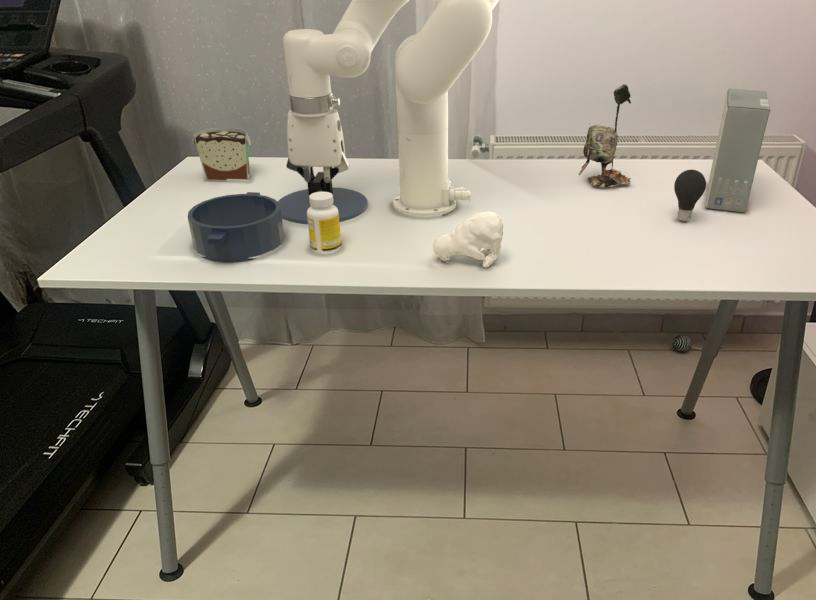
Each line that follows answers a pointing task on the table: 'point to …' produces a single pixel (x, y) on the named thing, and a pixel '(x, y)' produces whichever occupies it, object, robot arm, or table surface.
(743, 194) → the hard drive box
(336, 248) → the supplement bottle
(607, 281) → the table surface
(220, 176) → the food container
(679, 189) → the light bulb
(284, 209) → the lid
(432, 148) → the robot arm
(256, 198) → the pot
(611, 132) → the bird figurine
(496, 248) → the white lumpy rounded piece
